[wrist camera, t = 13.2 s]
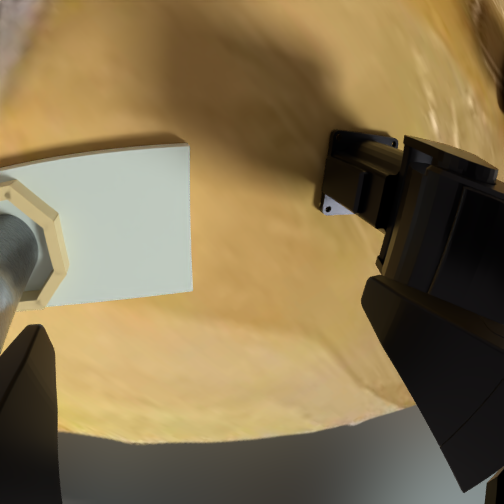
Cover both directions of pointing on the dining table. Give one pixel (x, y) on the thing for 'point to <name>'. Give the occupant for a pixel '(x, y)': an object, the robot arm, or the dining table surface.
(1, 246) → the grey metal peg
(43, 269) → the collar board
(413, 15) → the dining table surface
